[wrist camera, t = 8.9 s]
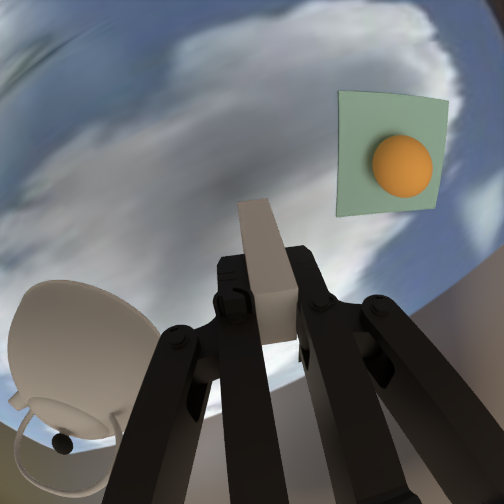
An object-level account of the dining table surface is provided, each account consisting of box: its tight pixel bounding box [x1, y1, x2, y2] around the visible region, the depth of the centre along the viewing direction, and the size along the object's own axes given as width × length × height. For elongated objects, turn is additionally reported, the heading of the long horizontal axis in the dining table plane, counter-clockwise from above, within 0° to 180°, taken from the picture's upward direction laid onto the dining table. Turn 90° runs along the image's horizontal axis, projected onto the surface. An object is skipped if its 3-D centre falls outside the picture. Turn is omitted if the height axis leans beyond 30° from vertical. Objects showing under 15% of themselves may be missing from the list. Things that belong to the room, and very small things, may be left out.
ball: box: [372, 135, 433, 198], centre depth 23 cm, size 6×6×6 cm
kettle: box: [8, 280, 161, 498], centre depth 28 cm, size 25×23×22 cm
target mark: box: [336, 91, 449, 217], centre depth 25 cm, size 12×12×1 cm
